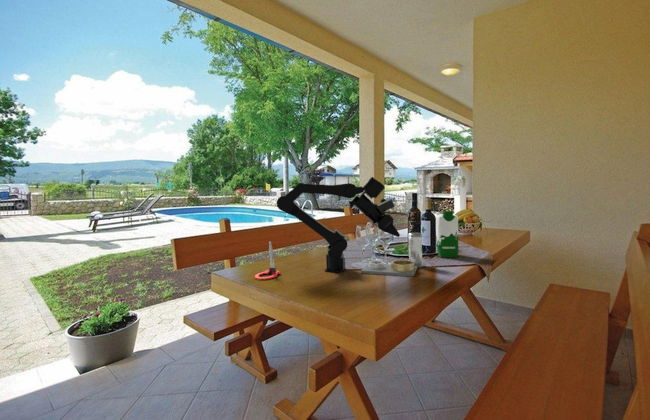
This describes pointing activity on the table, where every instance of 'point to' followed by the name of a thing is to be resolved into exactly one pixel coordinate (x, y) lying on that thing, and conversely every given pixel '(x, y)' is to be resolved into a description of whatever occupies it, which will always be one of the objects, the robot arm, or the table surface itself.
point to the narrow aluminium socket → (376, 265)
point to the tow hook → (271, 269)
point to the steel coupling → (415, 248)
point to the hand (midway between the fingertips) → (396, 234)
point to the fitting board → (387, 271)
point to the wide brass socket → (402, 266)
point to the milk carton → (447, 234)
